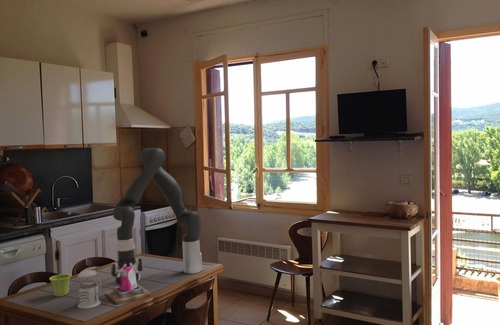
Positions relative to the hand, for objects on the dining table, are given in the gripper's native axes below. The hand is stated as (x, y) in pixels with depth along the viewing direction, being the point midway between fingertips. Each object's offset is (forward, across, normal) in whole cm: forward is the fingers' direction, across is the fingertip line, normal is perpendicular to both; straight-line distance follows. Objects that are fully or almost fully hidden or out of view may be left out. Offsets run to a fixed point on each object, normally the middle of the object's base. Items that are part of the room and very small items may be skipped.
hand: (127, 282), depth 200 cm
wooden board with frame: (+6, 0, 0) cm, 6 cm away
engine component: (+6, -9, -23) cm, 25 cm away
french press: (+6, +17, 0) cm, 18 cm away
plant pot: (+6, +25, -23) cm, 35 cm away
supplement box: (+4, 0, 0) cm, 4 cm away
